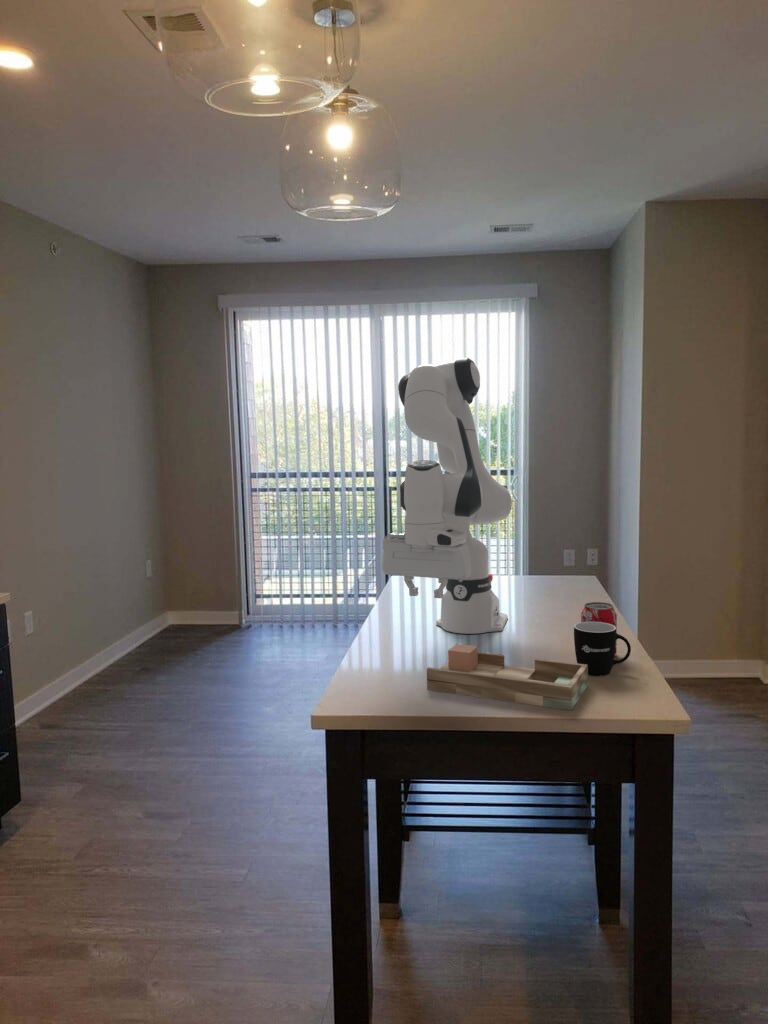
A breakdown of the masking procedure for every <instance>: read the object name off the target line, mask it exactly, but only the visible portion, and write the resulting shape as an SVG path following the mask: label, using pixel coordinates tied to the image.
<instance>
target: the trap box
mask: <svg viewBox="0 0 768 1024" xmlns="http://www.w3.org/2000/svg"><path fill="white" fill-rule="evenodd" d="M588 681H589V675H588V665H586V664H578V663H577V662H569V661H558V660H550V659H543V658H542V659H541V658H535V659H534V668H527V667H516V666H510V665H509V666H508V665H505V654H501V653H500V654H499V653H498V654H497V653H492V652H491V653H489V652H481V651H478V665H476V666H475V667H474V668H473V669H472V670H471V671H467V670H459V669H451V668H448V662H446V664H444V665H443V666H442V667H441V668H437V667H427V668H426V690H427V691H435V692H440V693H441V692H442V693H447V694H448V693H449V694H457V695H463V696H468V697H469V696H470V697H478V698H483V699H490V700H496V701H502V702H503V701H504V702H509V703H510V702H511V703H519V704H524V705H532V706H538V707H546V708H552V709H559V710H565V711H567V710H568V711H572V710H573V709H574V707H575V706H576V704H577V703H578V701H579V699H580V698H581V696H582V695H583V694H584V692H585V690H586V689H587V688H588V686H589V683H588Z"/></svg>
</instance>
